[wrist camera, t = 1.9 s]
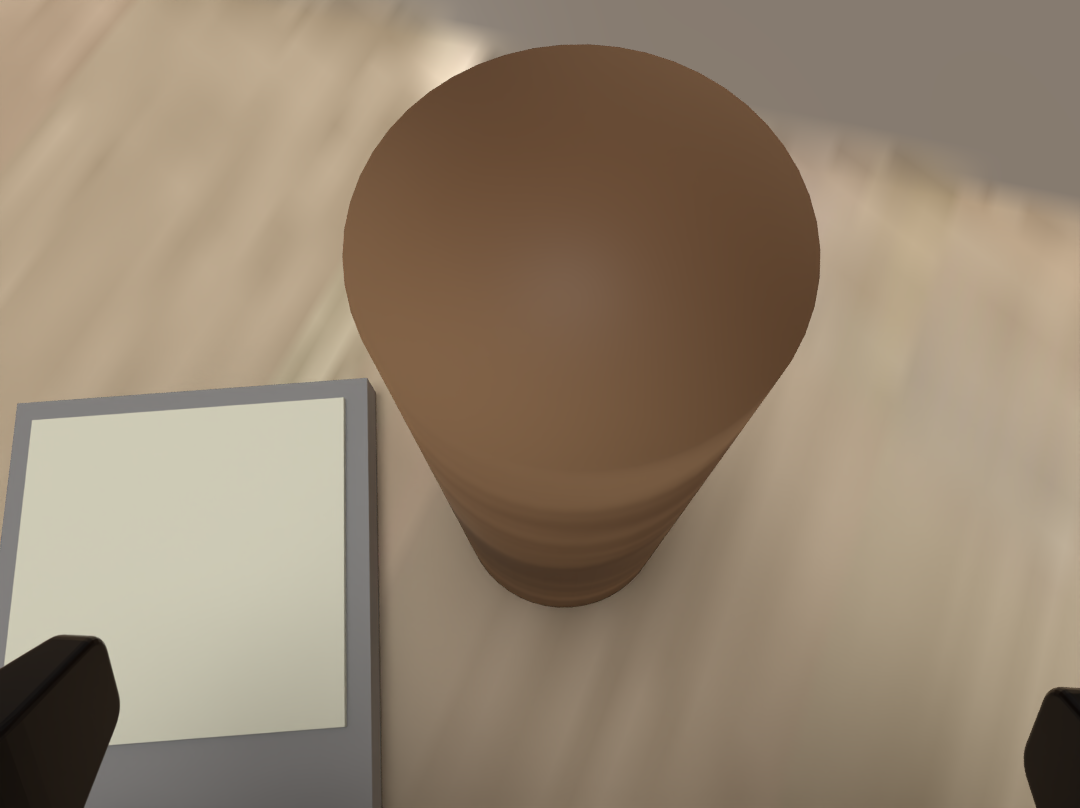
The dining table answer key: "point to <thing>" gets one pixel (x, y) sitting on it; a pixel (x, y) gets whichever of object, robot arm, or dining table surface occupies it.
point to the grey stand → (210, 586)
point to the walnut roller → (578, 299)
